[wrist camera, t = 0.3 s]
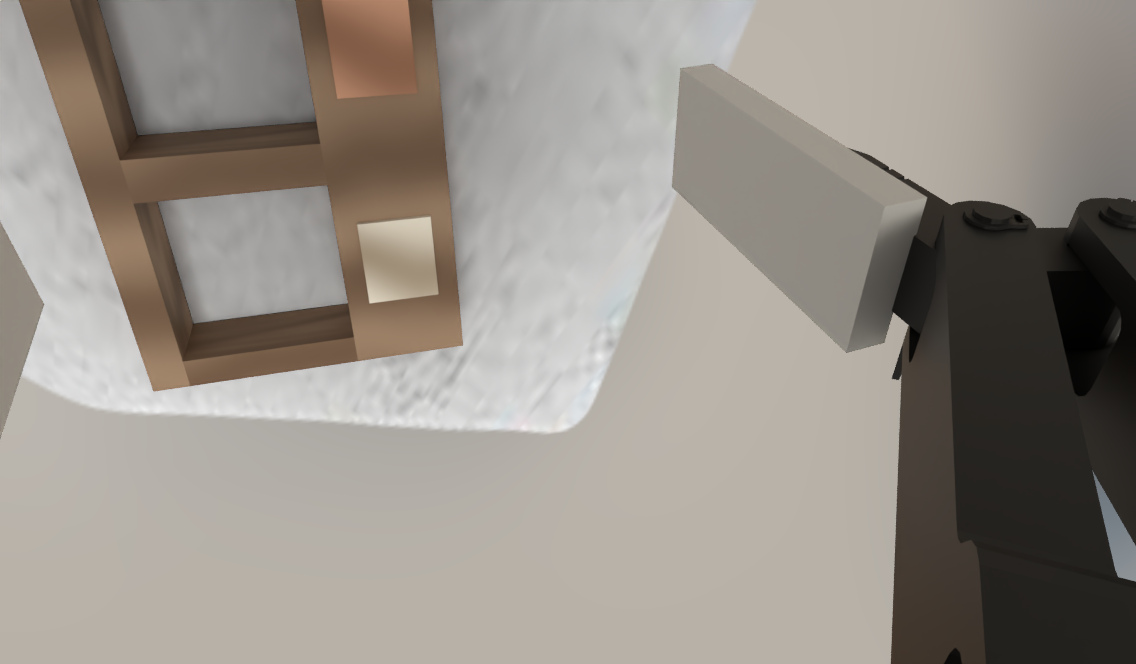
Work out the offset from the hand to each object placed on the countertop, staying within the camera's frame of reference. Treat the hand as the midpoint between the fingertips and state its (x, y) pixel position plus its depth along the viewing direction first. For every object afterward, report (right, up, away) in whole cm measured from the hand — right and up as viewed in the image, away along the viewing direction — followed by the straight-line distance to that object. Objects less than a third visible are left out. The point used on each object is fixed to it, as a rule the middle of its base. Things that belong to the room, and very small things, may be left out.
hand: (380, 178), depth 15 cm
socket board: (-11, +7, +24) cm, 27 cm away
